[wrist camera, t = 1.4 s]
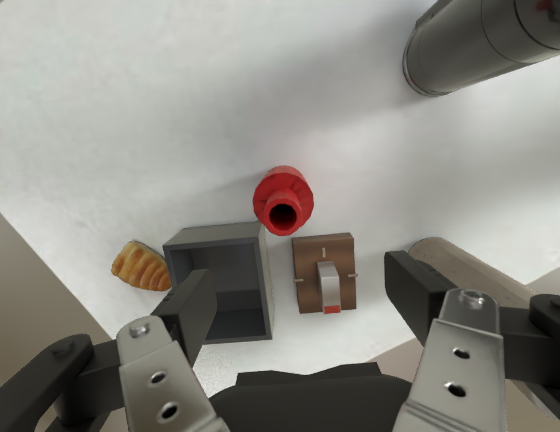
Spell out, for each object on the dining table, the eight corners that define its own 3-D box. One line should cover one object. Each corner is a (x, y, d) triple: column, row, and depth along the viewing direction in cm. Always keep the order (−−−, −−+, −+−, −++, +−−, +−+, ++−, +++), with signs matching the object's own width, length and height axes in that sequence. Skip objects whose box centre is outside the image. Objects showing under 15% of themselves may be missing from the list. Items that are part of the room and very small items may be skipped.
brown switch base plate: (289, 238, 41) (290, 244, 39) (352, 232, 41) (356, 238, 38) (296, 304, 44) (297, 314, 42) (354, 300, 44) (358, 309, 41)
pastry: (185, 264, 43) (175, 275, 39) (168, 295, 44) (157, 309, 41) (132, 236, 42) (117, 245, 38) (116, 269, 43) (101, 280, 39)
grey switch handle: (316, 261, 39) (321, 278, 34) (332, 260, 39) (339, 277, 34) (319, 294, 41) (323, 315, 36) (334, 293, 41) (341, 313, 35)
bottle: (259, 168, 38) (239, 183, 22) (304, 163, 38) (318, 175, 22) (264, 211, 40) (250, 255, 24) (307, 207, 40) (323, 249, 23)
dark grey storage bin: (183, 228, 41) (161, 245, 34) (263, 220, 40) (258, 236, 33) (201, 314, 45) (185, 346, 38) (274, 308, 44) (272, 339, 37)
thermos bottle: (447, 286, 43) (729, 527, 16) (399, 279, 43) (599, 512, 15) (462, 240, 41) (817, 426, 14) (412, 233, 40) (668, 408, 13)
